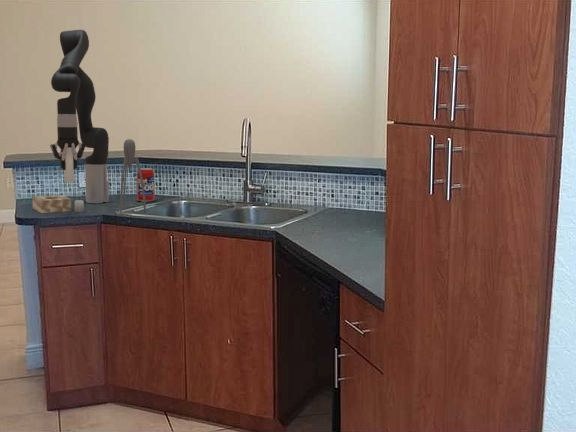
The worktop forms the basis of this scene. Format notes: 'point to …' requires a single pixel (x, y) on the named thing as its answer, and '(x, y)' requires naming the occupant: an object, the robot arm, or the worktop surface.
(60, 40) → the robot arm
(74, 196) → the worktop surface
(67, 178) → the tall ivory dowel
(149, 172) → the soda can
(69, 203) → the birch socket block
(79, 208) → the short grey dowel
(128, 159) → the citrus juicer
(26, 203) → the worktop surface
